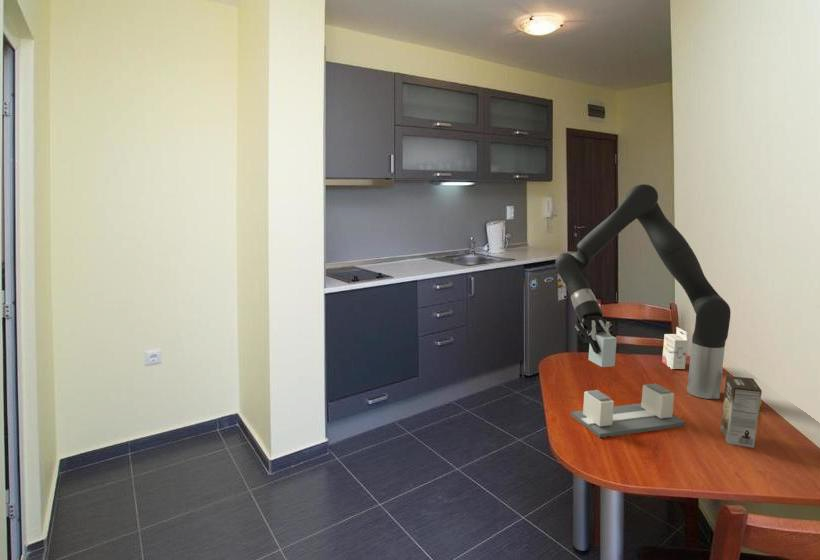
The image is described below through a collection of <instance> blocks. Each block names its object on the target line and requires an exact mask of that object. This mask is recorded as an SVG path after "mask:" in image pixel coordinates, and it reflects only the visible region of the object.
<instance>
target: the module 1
mask: <svg viewBox="0 0 820 560" xmlns="http://www.w3.org/2000/svg"><path fill="white" fill-rule="evenodd" d="M613 407H615V401H614V400H612V399H611V397H610V396H608V395H607V394H605V393H603V392H601V391H600V390H598V389H595V390H593V389H592V390H587V391H584V392H583V406H582V410H583V415H585V416H586V417H587V418H589V419H590V420H591V421H593V422H594V423H595V424H597V425H598V426H608V425H612V420H613Z"/></svg>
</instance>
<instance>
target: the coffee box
mask: <svg viewBox="0 0 820 560" xmlns="http://www.w3.org/2000/svg"><path fill="white" fill-rule="evenodd" d="M724 387H725V388H724V393H723V394H724V396H723V403H722V412H721V419H720V420H721V421H720V430H721V433H722V435H723V437H724V439H725V442H726V443H727V444H728V445H734V446H740V447H747V448H752V449H754V448H755V443H756V437H757V427H758V422H759V421H758V420H759V415H760V414H759V413H760V409H761V408H760V406H761V401H762V392H763V391H762V389H761V388H760V386H759V384H758V383H757V382H756V380H755V379H754V378H752V377H743V376H742V377H741V376H732V375H726V379H725V386H724Z"/></svg>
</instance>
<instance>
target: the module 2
mask: <svg viewBox="0 0 820 560" xmlns="http://www.w3.org/2000/svg"><path fill="white" fill-rule="evenodd" d="M674 402H675V393H673V392H671V390H669V389H668V388H665V387H664V386H662V385H660V384H658V383H656V382H655V383H647V384H643V385H642V393H641V402H640V403H641V407H642V408H644V409H645V410H647V411H649V412H650V413H652V414H654V415H655V416H657V417H659V418H660V419H661V418H668V417H672V415H673V414H674V413H673V411H674Z"/></svg>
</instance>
